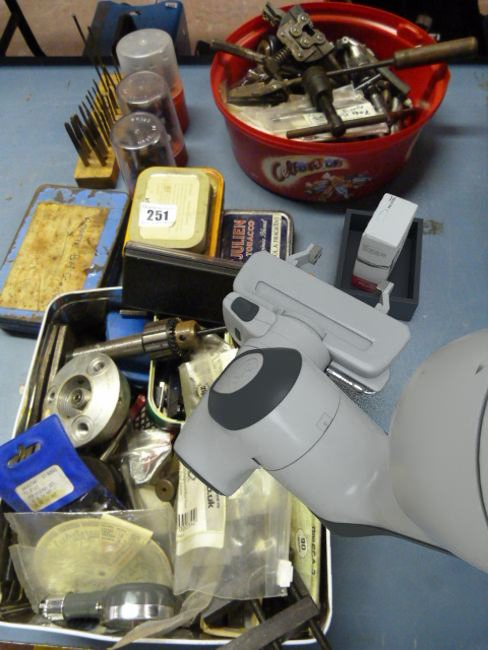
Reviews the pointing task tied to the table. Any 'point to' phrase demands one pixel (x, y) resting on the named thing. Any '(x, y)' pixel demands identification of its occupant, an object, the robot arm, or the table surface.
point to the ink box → (382, 241)
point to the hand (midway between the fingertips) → (351, 265)
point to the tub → (401, 276)
